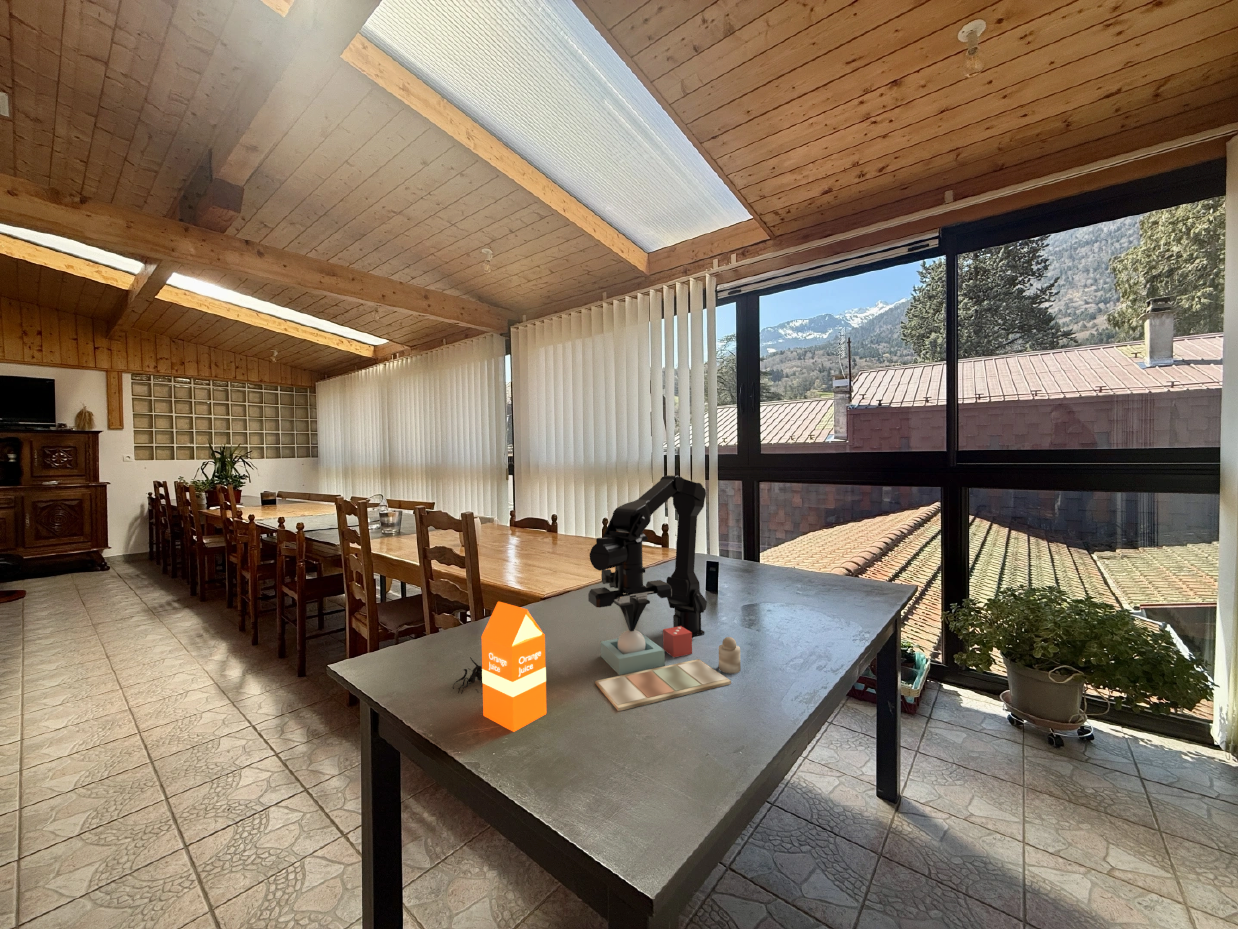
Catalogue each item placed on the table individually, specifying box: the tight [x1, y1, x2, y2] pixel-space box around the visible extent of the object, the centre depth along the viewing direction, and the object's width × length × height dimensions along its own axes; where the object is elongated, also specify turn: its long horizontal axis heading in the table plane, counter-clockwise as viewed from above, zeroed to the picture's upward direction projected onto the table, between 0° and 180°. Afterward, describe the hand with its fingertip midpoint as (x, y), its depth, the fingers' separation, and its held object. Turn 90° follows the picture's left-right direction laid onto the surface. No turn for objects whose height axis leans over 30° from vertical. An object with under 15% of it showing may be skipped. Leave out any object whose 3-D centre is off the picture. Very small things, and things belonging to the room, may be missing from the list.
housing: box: [599, 633, 666, 676], centre depth 111 cm, size 11×11×4 cm
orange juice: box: [480, 601, 547, 733], centre depth 88 cm, size 8×9×20 cm
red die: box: [662, 626, 693, 658], centre depth 115 cm, size 5×5×5 cm
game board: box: [594, 658, 732, 712], centre depth 99 cm, size 25×12×1 cm, turn 113°
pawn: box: [718, 636, 741, 674], centre depth 106 cm, size 5×5×7 cm
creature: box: [452, 656, 483, 695], centre depth 99 cm, size 8×5×8 cm
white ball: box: [618, 629, 646, 655], centre depth 111 cm, size 6×6×6 cm
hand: (631, 630), depth 111 cm, fingers closed, pressing on white ball
